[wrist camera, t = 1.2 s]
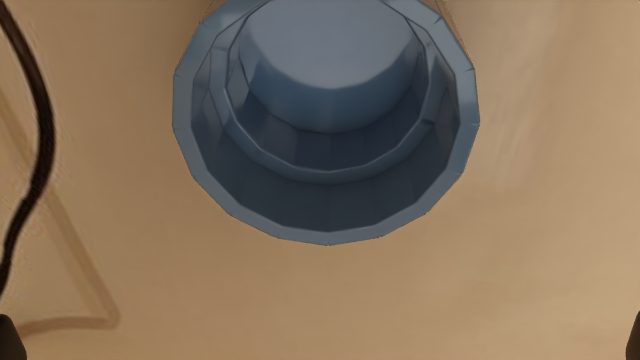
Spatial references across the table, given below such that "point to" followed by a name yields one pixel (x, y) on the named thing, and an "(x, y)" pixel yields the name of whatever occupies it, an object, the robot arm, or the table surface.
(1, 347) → the robot arm
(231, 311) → the table surface
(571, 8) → the table surface
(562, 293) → the table surface
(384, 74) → the bowl
